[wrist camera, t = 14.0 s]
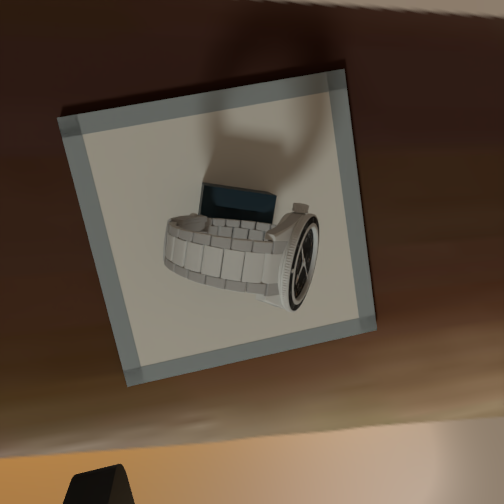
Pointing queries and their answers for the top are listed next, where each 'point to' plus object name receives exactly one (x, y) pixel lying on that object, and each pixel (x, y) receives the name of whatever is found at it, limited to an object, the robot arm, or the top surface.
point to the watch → (245, 245)
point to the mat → (187, 201)
